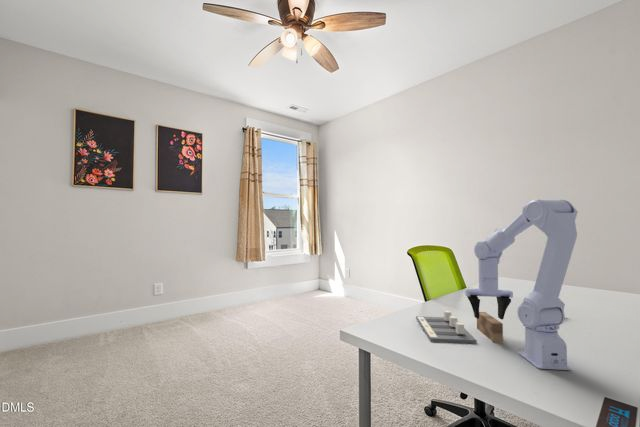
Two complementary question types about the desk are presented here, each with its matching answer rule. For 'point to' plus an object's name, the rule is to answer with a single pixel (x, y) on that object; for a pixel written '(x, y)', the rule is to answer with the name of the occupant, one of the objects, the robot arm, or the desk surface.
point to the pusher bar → (490, 327)
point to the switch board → (443, 331)
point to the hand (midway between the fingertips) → (488, 318)
